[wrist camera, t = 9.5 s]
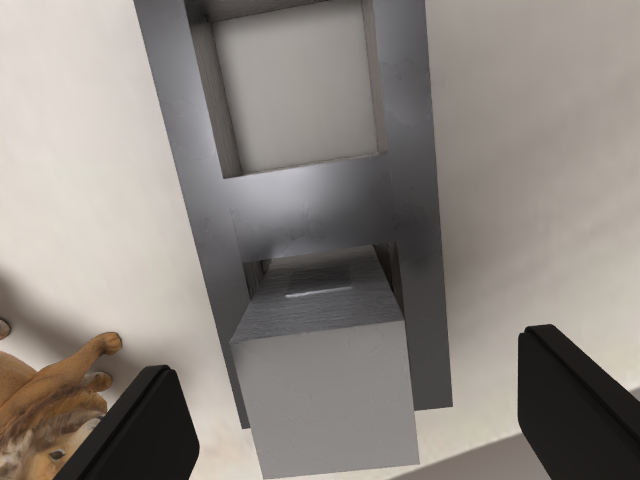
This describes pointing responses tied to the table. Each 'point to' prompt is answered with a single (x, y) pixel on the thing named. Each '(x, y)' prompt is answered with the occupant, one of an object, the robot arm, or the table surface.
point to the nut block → (326, 367)
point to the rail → (308, 177)
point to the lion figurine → (49, 409)
